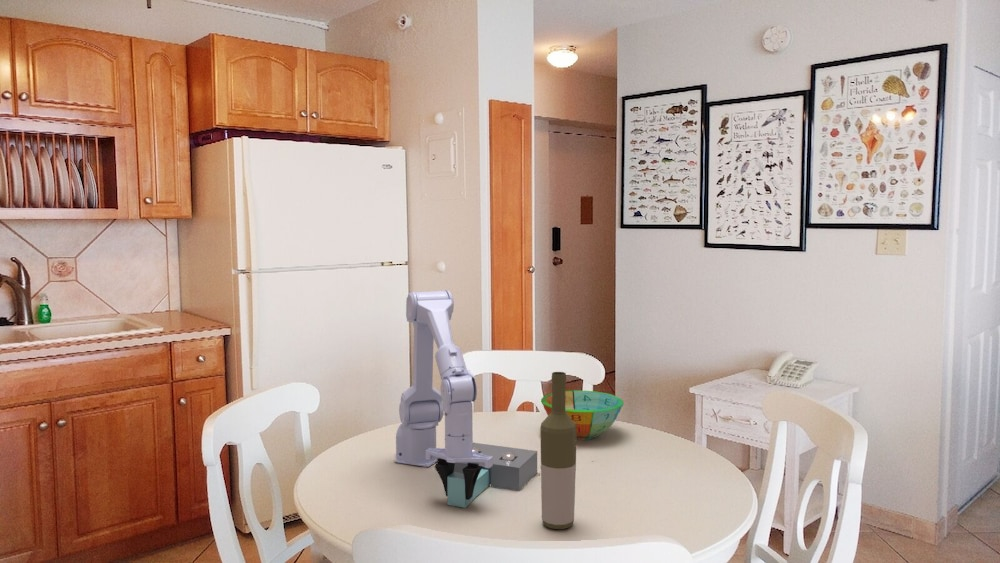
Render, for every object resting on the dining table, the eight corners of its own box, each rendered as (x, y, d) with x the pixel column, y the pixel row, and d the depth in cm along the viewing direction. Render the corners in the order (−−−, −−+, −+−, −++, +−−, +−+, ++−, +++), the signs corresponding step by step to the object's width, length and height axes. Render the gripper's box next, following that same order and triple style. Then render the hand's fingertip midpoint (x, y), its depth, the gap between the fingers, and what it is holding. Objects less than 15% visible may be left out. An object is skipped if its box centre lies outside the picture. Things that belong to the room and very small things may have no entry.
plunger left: (464, 461, 164) (464, 450, 164) (469, 457, 167) (469, 446, 167) (475, 462, 163) (475, 451, 163) (480, 459, 166) (480, 448, 166)
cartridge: (447, 504, 148) (447, 476, 148) (477, 479, 162) (477, 454, 161) (465, 507, 147) (464, 479, 146) (493, 482, 160) (493, 456, 160)
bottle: (542, 515, 143) (543, 368, 140) (577, 518, 142) (579, 370, 139) (537, 530, 136) (537, 376, 134) (573, 533, 135) (575, 378, 132)
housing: (445, 479, 163) (445, 457, 162) (467, 462, 174) (467, 441, 173) (519, 490, 156) (519, 467, 155) (537, 472, 167) (537, 451, 166)
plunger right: (500, 466, 161) (500, 455, 161) (505, 462, 164) (505, 451, 163) (511, 468, 160) (511, 456, 160) (516, 464, 163) (516, 453, 162)
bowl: (629, 449, 183) (630, 411, 183) (542, 449, 184) (542, 411, 183) (616, 424, 206) (617, 390, 205) (539, 423, 206) (539, 389, 205)
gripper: (418, 434, 146) (419, 498, 148) (483, 442, 141) (483, 509, 142) (434, 424, 153) (434, 486, 154) (496, 432, 147) (496, 496, 149)
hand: (459, 496), depth 149 cm, fingers closed on cartridge, 4 cm apart
